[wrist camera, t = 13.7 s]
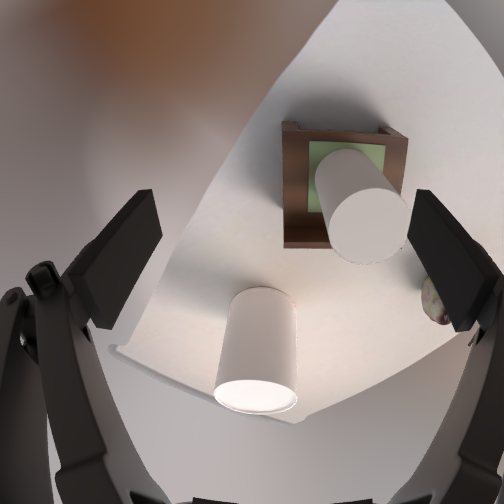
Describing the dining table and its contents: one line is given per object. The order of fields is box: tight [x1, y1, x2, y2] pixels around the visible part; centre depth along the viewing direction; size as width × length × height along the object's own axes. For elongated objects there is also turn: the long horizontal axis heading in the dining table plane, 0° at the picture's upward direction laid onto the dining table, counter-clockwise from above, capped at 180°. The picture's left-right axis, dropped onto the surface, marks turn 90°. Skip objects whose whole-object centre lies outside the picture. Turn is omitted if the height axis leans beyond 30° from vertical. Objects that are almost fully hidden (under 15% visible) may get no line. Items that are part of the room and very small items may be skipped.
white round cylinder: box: [315, 149, 411, 265], centre depth 30 cm, size 8×8×12 cm
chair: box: [282, 122, 408, 249], centre depth 36 cm, size 14×16×10 cm
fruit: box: [421, 276, 451, 325], centre depth 46 cm, size 10×9×12 cm
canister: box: [214, 287, 297, 414], centre depth 51 cm, size 14×14×20 cm
